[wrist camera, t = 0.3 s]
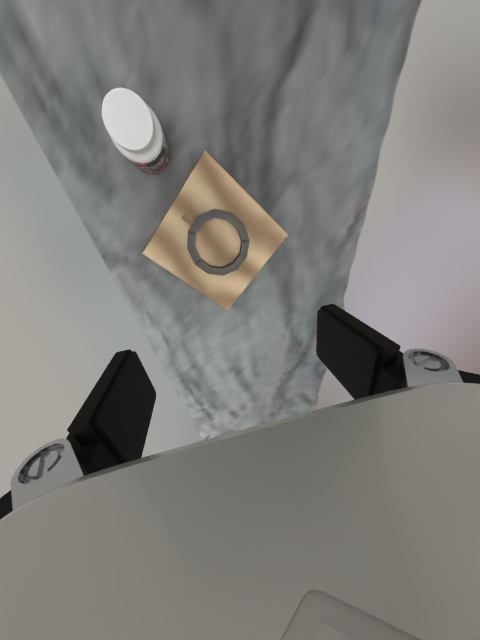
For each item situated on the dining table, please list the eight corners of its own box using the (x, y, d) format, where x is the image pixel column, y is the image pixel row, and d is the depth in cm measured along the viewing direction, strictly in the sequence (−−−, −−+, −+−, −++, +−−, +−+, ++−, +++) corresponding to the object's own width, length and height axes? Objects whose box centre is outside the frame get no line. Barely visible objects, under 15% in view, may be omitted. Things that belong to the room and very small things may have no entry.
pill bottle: (138, 178, 30) (112, 162, 21) (119, 128, 27) (80, 85, 18) (176, 169, 30) (166, 149, 21) (161, 119, 27) (143, 72, 19)
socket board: (204, 152, 30) (205, 147, 28) (286, 234, 37) (291, 235, 35) (143, 252, 34) (140, 254, 32) (227, 308, 41) (228, 312, 39)
